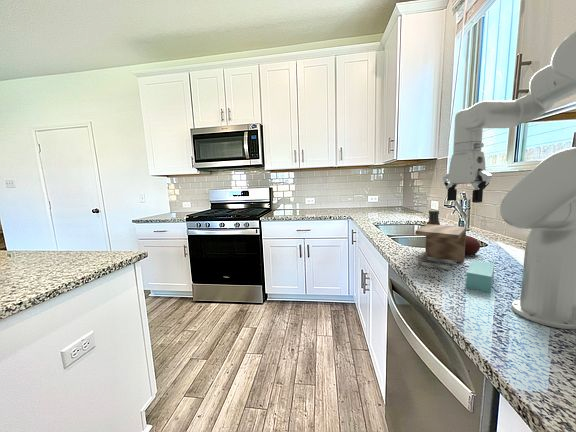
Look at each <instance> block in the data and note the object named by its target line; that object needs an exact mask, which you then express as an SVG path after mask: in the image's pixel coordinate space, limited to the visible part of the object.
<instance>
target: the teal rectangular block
mask: <svg viewBox="0 0 576 432" xmlns="http://www.w3.org/2000/svg"><path fill="white" fill-rule="evenodd" d="M494 272H495V262H489V261H483V260H476V259H472V261H471V263H470V266H469V267H468V269H467V271H466V281H465V283H466V284H465V288H466V289H470V290H474V291H475V290H476V291H479V292H480V291H481V292H485V293H488V294H489V293H490V294H491V291H492V286H493V281H494V274H495V273H494Z"/></svg>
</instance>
